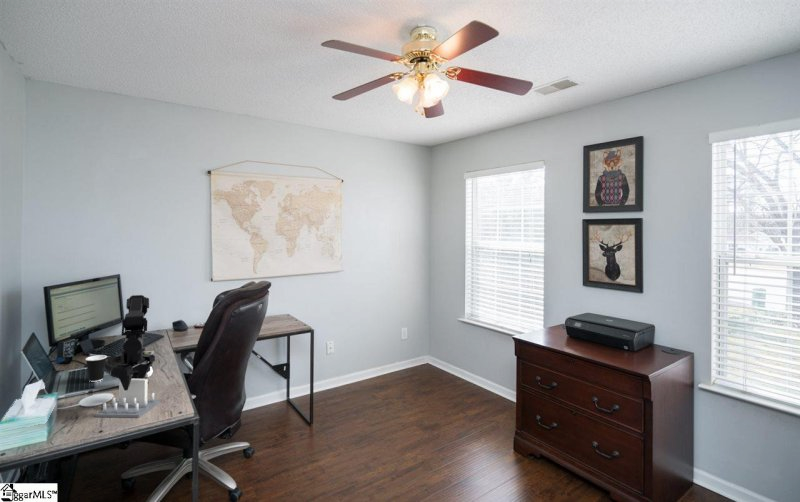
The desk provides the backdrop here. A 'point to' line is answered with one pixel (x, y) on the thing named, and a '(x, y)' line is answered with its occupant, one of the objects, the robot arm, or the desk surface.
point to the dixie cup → (96, 367)
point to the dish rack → (127, 408)
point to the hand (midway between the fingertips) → (133, 385)
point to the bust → (149, 372)
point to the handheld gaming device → (149, 352)
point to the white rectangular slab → (134, 391)
